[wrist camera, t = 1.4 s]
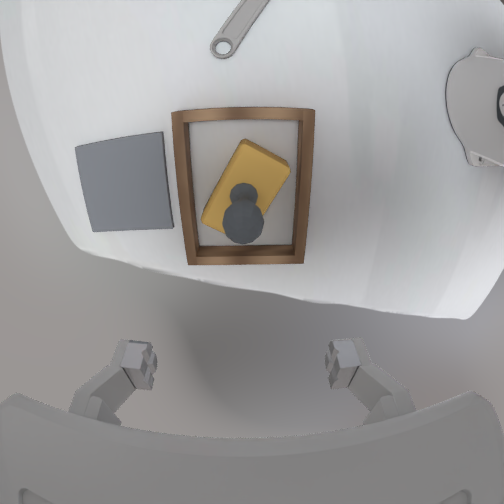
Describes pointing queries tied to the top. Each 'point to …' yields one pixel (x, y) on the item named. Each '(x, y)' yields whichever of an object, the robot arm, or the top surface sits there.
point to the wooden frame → (186, 195)
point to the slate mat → (126, 183)
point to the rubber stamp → (245, 192)
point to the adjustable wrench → (237, 25)
